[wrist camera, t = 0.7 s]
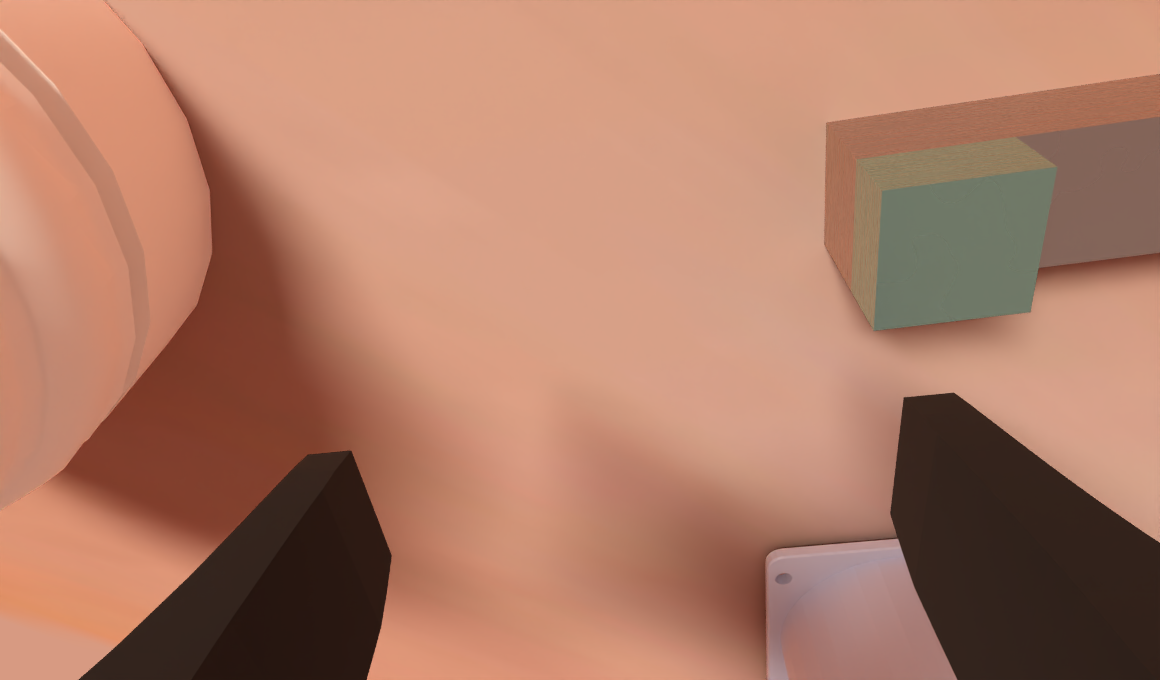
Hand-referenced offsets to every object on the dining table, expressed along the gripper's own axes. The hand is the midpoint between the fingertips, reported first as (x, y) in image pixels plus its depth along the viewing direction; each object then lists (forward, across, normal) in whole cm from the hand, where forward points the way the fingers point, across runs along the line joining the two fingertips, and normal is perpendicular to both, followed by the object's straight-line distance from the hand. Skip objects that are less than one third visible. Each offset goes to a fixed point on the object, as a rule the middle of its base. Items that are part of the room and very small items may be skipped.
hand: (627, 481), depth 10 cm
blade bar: (+10, -12, 0) cm, 16 cm away
